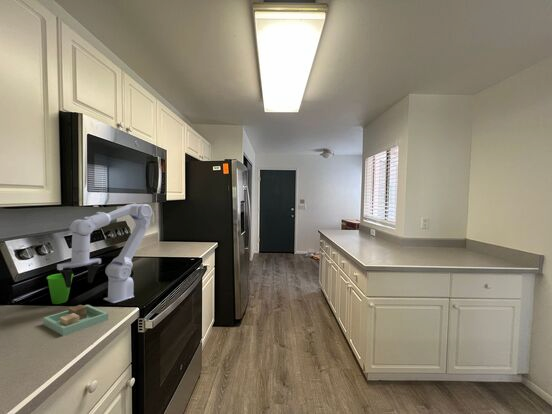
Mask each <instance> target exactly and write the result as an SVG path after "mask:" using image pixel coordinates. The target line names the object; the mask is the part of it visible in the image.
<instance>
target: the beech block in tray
mask: <svg viewBox="0 0 552 414" xmlns="http://www.w3.org/2000/svg"><path fill="white" fill-rule="evenodd" d="M77 322H79V315H77V314H74V313H72V314H69V315H65V316H62V317H60V324H62V325H64V326H68V325H71V324H74V323H77Z"/></svg>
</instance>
